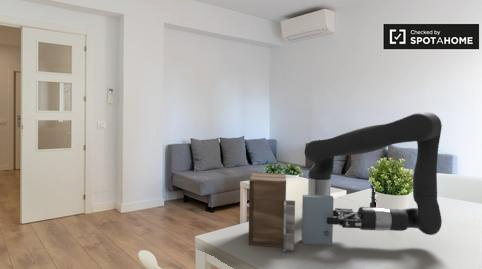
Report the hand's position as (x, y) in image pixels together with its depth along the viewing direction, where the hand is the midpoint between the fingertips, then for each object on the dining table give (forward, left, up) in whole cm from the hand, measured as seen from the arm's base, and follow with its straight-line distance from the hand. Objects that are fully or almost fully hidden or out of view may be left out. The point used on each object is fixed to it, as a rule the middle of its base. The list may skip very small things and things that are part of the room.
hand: (325, 216), depth 115 cm
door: (0, -3, -9) cm, 9 cm away
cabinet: (+1, -18, -9) cm, 20 cm away
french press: (-43, +31, -9) cm, 54 cm away
